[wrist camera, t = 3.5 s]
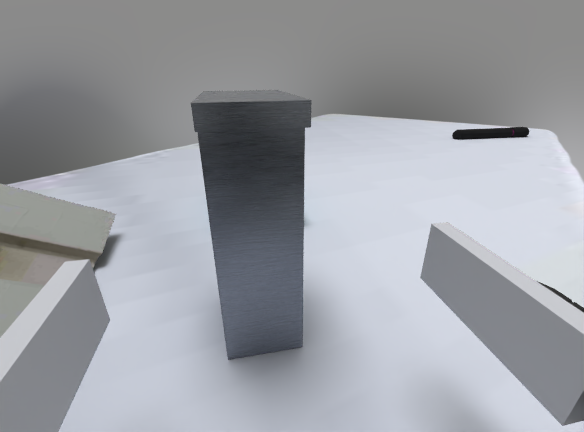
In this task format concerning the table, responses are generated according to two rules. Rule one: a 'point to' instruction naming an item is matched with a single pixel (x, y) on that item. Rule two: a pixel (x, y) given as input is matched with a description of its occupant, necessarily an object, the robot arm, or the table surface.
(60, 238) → the wall
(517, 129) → the gadget
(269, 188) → the brushed metal pillar
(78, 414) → the table surface
